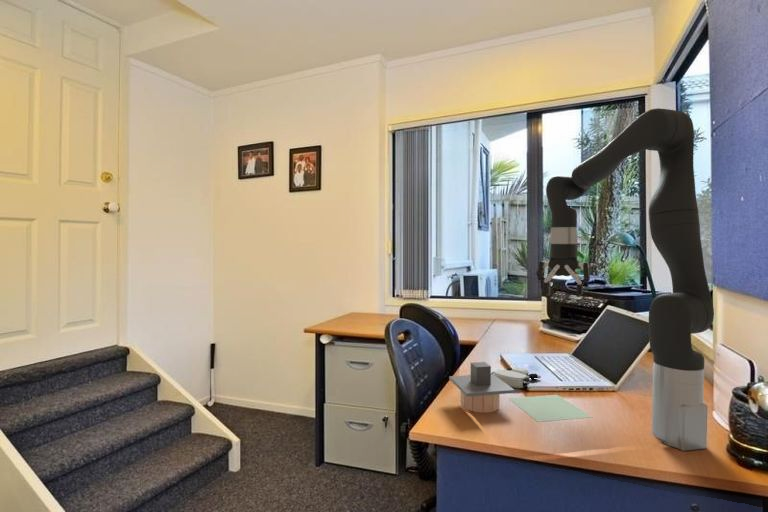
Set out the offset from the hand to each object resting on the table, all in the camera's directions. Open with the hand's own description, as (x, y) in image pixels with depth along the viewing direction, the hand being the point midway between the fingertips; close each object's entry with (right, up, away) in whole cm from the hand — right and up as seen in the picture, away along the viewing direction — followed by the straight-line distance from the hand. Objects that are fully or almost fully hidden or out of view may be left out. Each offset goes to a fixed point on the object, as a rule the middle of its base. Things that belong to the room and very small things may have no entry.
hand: (563, 295), depth 124 cm
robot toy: (-14, -28, +4) cm, 32 cm away
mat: (-11, -29, -16) cm, 35 cm away
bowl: (-29, -29, -14) cm, 43 cm away
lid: (-29, -23, -14) cm, 39 cm away
